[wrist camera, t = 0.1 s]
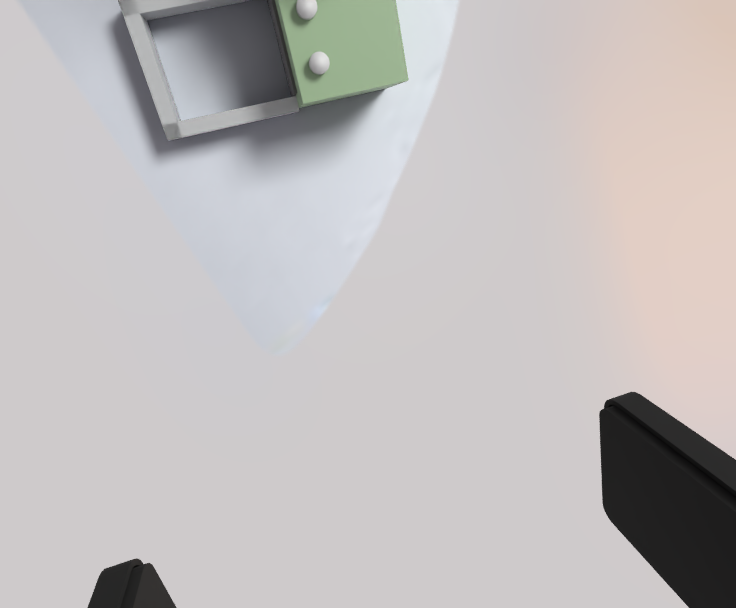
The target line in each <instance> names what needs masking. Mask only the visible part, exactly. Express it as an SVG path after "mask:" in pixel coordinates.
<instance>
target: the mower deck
mask: <svg viewBox="0 0 736 608" xmlns="http://www.w3.org/2000/svg"><path fill="white" fill-rule="evenodd" d="M246 1H251V0H118V2H119V5H120V8H121V10H122V13H123V16H124V19H125V22H126V25H127V27H128V30H129V33H130V36H131V39H132V41H133V44H134V47H135V50H136V53H137V56H138V58H139V61H140V64H141V67H142V70H143V73H144V75H145V78H146V81H147V84H148V87H149V89H150V92H151V95H152V98H153V101H154V104H155V106H156V109H157V112H158V115H159V118H160V121H161V123H162V126H163V129H164V132H165V135H166V138H167V140H176V139H180V138H185V137H189V136H193V135H198V134H202V133H207V132H211V131H216V130H220V129H225V128H229V127H234V126H238V125H242V124H247V123H251V122H256V121H260V120H265V119H269V118H274V117H278V116H282V115H287V114H291V113H296V112H299V108H301V107H306V106H310V105H315V104H319V103H324V102H328V101H333V100H337V99H342V98H346V97H351V96H355V95H360V94H364V93H369V92H373V91H378V90H382V89H386V88H389V87H392V86H394V85H397V84H400V83H403V82H405V81H408V74H407V68H406V62H405V55H404V49H403V43H402V37H401V31H400V24H399V18H398V12H397V6H396V0H268V4H269V8H270V12H271V16H272V20H273V24H274V28H275V32H276V36H277V40H278V44H279V48H280V52H281V56H282V60H283V64H284V68H285V72H286V76H287V80H288V84H289V88H290V92H291V96H292V97H288V98H284V99H279V100H275V101H270V102H265V103H261V104H256V105H252V106H247V107H243V108H238V109H234V110H229V111H225V112H220V113H216V114H211V115H206V116H202V117H197V118H193V119H188V120H184V121H181V120H180V117H179V114H178V111H177V108H176V105H175V102H174V99H173V96H172V93H171V90H170V87H169V84H168V81H167V78H166V75H165V72H164V69H163V66H162V63H161V60H160V57H159V55H158V52H157V49H156V46H155V43H154V40H153V37H152V34H151V31H150V28H149V25H148V22H147V20H153V19H158V18H163V17H168V16H173V15H178V14H184V13H189V12H194V11H199V10H204V9H210V8H215V7H220V6H225V5H230V4H236V3H241V2H246Z"/></svg>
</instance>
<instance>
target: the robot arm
mask: <svg viewBox="0 0 736 608" xmlns="http://www.w3.org/2000/svg"><path fill="white" fill-rule="evenodd" d="M599 416H600V444H601V470H602V496H603V507H604V510H605V512H606V514H607V516H608V518H609V519H610V520H611V522H612V523H613V524H614V525H615V526H616V527H617V528H618V530H619V531H620V532H621V533H622V534H623V535H624V536H625V537H626V539H627V540H628V541H629V542H630V543H631V544H632V545H633V546H634V547H635V548H636V549H637V551H638V552H639V553H640V554H641V555H642V556H643V557H644V558H645V560H646V561H647V562H648V563H649V564H650V565H651V566H652V567H653V568H654V569H655V571H656V572H657V573H658V574H659V575H660V576H661V577H662V578H663V579H664V581H665V582H666V583H667V584H668V585H669V586H670V587H671V588H672V589H673V590H674V592H676V593H677V595H678V596H679V597H680V598H681V599H682V600H683V602H684V603H685V604H686V605H687V606H688V607H689V608H736V460H735V459H734V458H732V457H730V456H729V455H728V454H726V453H725V452H723V451H722V450H721V449H719V448H717V447H716V446H715V445H713V444H712V443H710V442H709V441H707V440H706V439H704V438H703V437H701V436H700V435H699V434H697V433H696V432H694V431H692V430H691V429H690V428H688V427H687V426H685V425H684V424H683V423H681V422H680V421H678V420H677V419H675V418H674V417H672V416H671V415H669V414H668V413H666V412H665V411H664V410H662V409H661V408H659V407H658V406H656V405H655V404H653V403H652V402H650V401H649V400H647V399H646V398H645V397H643V396H642V395H640V394H638V393H636V392H630V393H627V394H624V395H621V396H618V397H615V398H612V399H609V400H607V401H606V402H605V405H604V409H602V410H601V411H600V415H599ZM88 608H176V606H175V604H174V603H173V601H172V599H171V597H170V595H169V594H168V592H167V590H166V588H165V587H164V585H163V583H162V581H161V579H160V578H159V576H158V574H157V572H156V570H155V569H154V567H153V565H152V564H150V563H147V564H143V563H142V561H141V560H139V559H133V560H130V561H127V562H124V563H121V564H118V565H116V566H112V567H109V568H106V569H104V570H103V571H102V572H101V574H100V576H99V578H98V581H97V583H96V586H95V589H94V592H93V595H92V597H91V600H90V603H89V605H88Z"/></svg>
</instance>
